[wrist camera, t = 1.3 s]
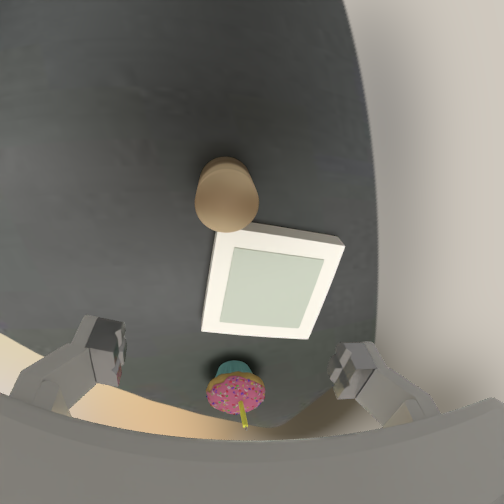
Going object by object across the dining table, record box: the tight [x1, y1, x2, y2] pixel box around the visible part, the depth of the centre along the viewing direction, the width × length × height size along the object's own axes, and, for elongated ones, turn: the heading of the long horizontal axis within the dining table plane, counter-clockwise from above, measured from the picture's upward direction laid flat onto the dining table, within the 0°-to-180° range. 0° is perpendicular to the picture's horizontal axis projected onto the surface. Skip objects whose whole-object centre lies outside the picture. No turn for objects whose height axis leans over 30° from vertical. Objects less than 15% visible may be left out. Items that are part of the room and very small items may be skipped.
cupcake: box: [206, 360, 265, 431], centre depth 39 cm, size 9×8×12 cm
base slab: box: [201, 222, 345, 339], centre depth 36 cm, size 14×14×3 cm
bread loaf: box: [195, 157, 259, 233], centre depth 28 cm, size 5×5×7 cm
